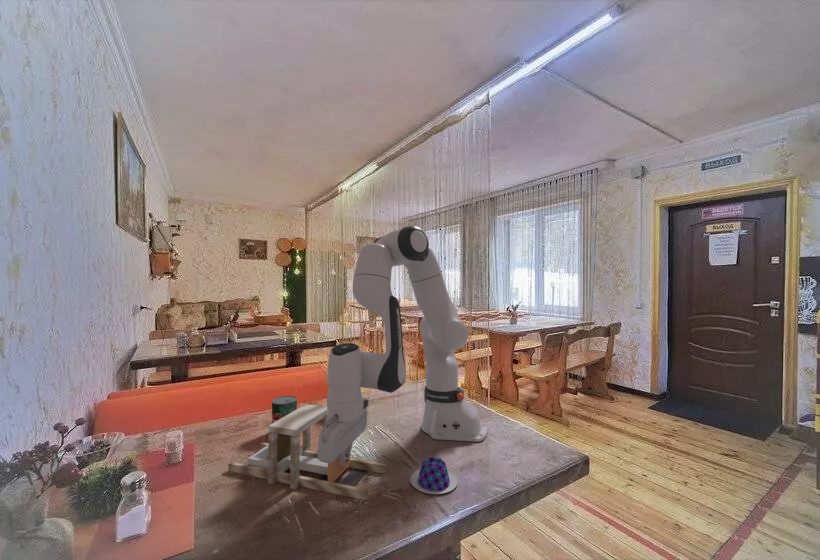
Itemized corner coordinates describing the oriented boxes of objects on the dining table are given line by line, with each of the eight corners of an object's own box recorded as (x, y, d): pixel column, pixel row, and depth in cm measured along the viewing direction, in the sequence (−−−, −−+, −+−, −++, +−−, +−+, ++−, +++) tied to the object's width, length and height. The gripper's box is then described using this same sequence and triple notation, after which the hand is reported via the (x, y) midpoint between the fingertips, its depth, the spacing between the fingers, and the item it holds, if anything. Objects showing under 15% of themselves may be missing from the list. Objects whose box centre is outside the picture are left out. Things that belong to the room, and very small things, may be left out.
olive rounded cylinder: (285, 473, 92) (286, 431, 92) (265, 470, 93) (266, 429, 93) (298, 462, 97) (298, 422, 97) (279, 459, 99) (279, 420, 99)
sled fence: (350, 466, 95) (350, 444, 95) (331, 487, 85) (331, 462, 85) (273, 451, 102) (273, 431, 102) (247, 469, 93) (247, 446, 93)
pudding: (415, 467, 96) (415, 448, 96) (459, 472, 93) (459, 453, 93) (405, 493, 84) (405, 471, 84) (455, 500, 81) (455, 477, 81)
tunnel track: (388, 468, 94) (389, 414, 94) (363, 504, 79) (363, 440, 79) (266, 446, 106) (266, 398, 106) (223, 474, 91) (223, 418, 91)
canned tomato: (266, 435, 114) (266, 401, 114) (283, 426, 121) (283, 394, 121) (285, 439, 111) (285, 405, 111) (301, 429, 118) (302, 397, 118)
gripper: (335, 426, 79) (335, 487, 79) (371, 397, 98) (371, 446, 98) (310, 422, 80) (310, 482, 80) (351, 395, 100) (350, 443, 100)
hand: (344, 462), depth 89 cm, fingers closed, pressing on sled fence
